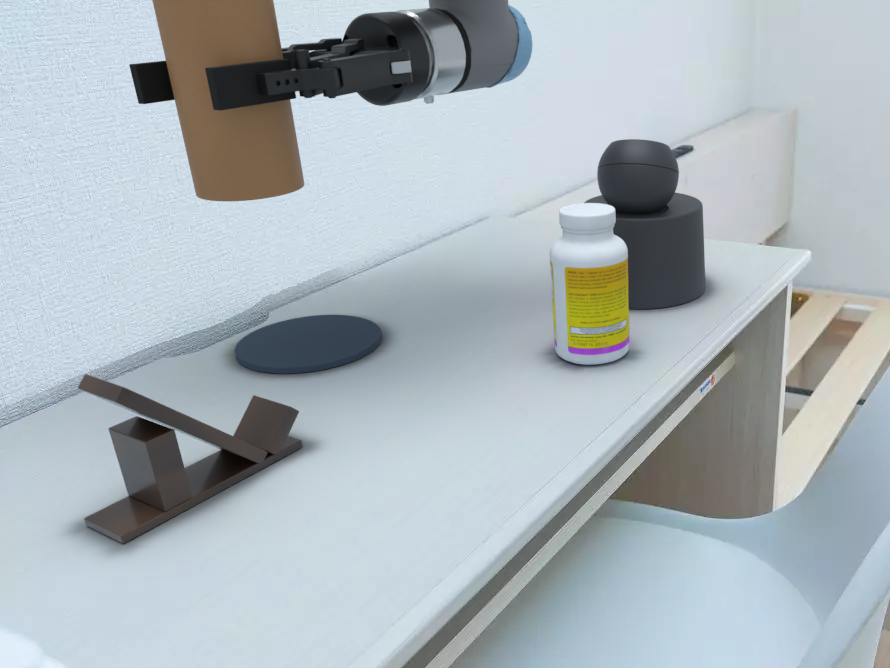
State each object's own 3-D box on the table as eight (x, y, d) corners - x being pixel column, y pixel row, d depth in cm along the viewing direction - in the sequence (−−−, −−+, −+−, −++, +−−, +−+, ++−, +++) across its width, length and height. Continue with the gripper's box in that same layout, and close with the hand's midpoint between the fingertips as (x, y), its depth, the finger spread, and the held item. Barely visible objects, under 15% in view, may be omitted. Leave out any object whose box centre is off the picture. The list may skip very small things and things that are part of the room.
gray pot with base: (718, 121, 93) (699, 146, 81) (713, 268, 100) (696, 312, 88) (594, 120, 96) (557, 144, 84) (598, 263, 103) (564, 305, 91)
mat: (205, 356, 81) (203, 350, 81) (315, 312, 91) (314, 306, 91) (303, 385, 75) (302, 378, 74) (410, 334, 84) (410, 328, 84)
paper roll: (57, 112, 60) (165, -69, 64) (229, 233, 73) (311, 77, 77) (125, 119, 56) (236, -75, 60) (294, 245, 69) (378, 80, 73)
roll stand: (85, 525, 56) (41, 390, 52) (269, 433, 67) (244, 314, 63) (123, 544, 54) (79, 404, 50) (306, 445, 65) (282, 324, 61)
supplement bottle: (644, 355, 78) (643, 210, 73) (581, 374, 75) (575, 223, 70) (601, 333, 84) (597, 195, 78) (540, 349, 80) (532, 207, 75)
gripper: (497, 106, 76) (282, 153, 59) (327, 95, 86) (103, 132, 69) (490, 10, 73) (261, 30, 56) (314, 11, 83) (75, 27, 66)
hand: (173, 86), depth 62 cm, fingers closed on paper roll, 8 cm apart
